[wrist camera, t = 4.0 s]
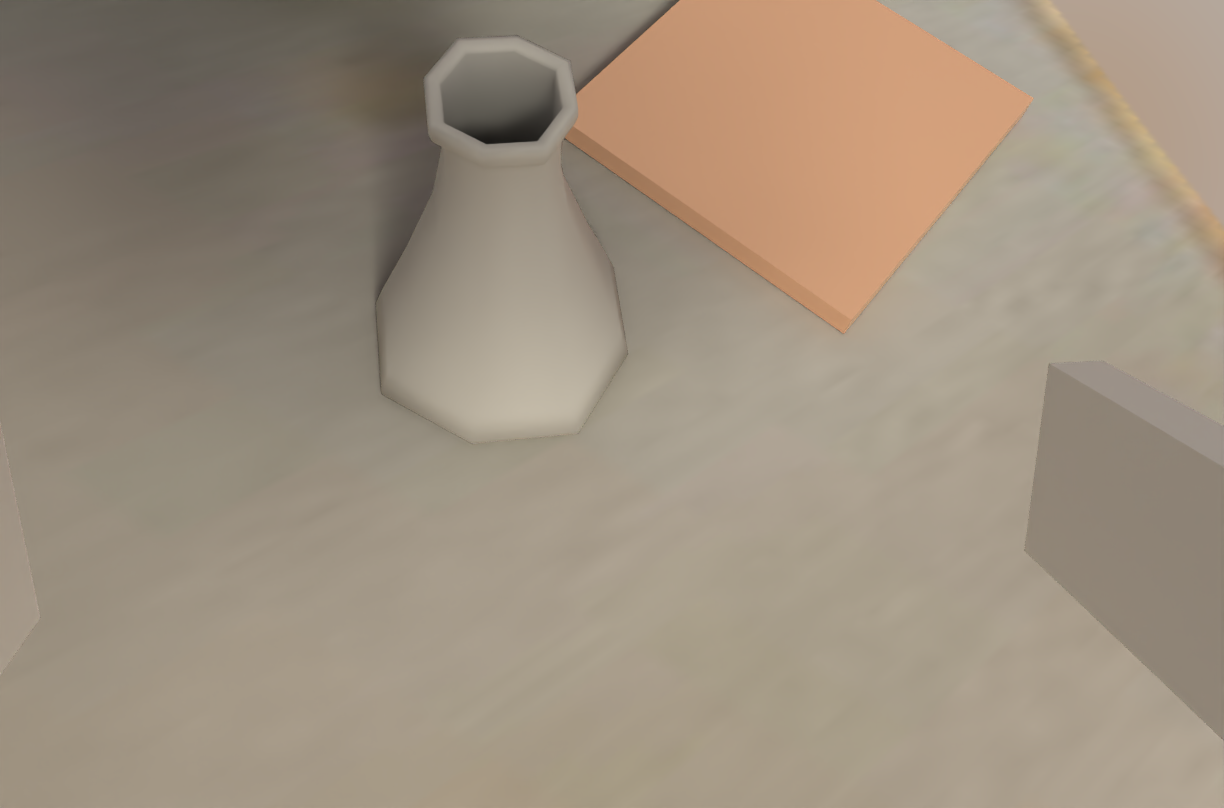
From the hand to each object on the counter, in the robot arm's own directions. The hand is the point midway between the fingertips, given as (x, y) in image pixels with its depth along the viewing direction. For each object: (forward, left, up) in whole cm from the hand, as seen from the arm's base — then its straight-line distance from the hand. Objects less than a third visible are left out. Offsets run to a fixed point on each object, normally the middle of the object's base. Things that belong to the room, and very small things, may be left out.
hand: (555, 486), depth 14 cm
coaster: (-5, +19, -14) cm, 25 cm away
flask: (-7, +7, -15) cm, 18 cm away
